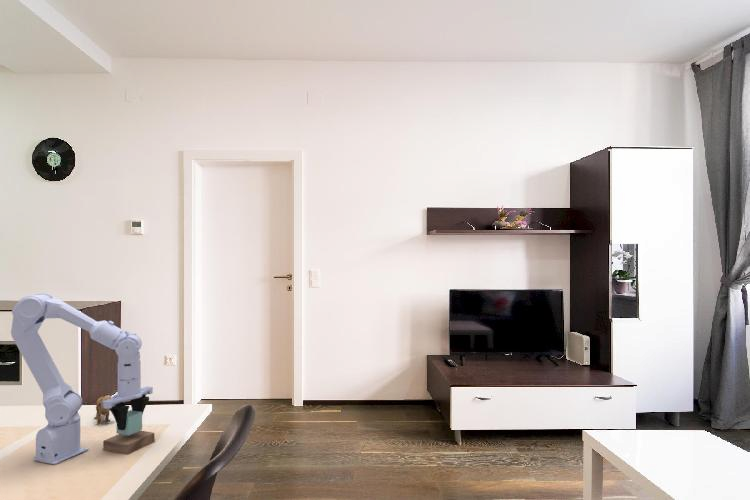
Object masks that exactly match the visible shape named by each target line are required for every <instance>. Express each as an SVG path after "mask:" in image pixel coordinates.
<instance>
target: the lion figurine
mask: <svg viewBox="0 0 750 500" xmlns="http://www.w3.org/2000/svg"><path fill="white" fill-rule="evenodd" d="M110 398H112V396H111V395H105V396H101V397H99V398H97V401H96V406H95V411H96V414H95V417H94V419H95V420H96V419H97V422H96V425H101V424H102V418H101V417H102V416H103V415H104V416H105V418H104V421H105V422H106V423H109V422H111V419H109V416H110V412H111V411H110V410H109V409H106V408H103V401H105V400H108V399H110Z"/></svg>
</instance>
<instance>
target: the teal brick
mask: <svg viewBox="0 0 750 500" xmlns="http://www.w3.org/2000/svg"><path fill="white" fill-rule="evenodd" d="M140 430H141V431H143V415H142V412H139V411H132V409H130V410H128V413H127V419H126V428H125V430H118V427H117V426H116V435H118V434H123V435H131V434H133V433H135V432H138V431H140Z"/></svg>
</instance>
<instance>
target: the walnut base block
mask: <svg viewBox="0 0 750 500" xmlns="http://www.w3.org/2000/svg"><path fill="white" fill-rule="evenodd" d="M154 442H155V432H151V431H146V430H140V431H138V432H135V433H133V434H131V435H123V434H116V435H113V436H111V437H109V438H107V439H105V440H102V446H103V447H102V450H103V451H107V452H112V453H113V452H114V453H117V454H118V453H119V454H124V455H129V454H131V453H134V452H136V451H138V450H140V449H142V448H144V447H147V446H148V445H150V444H152V443H154Z"/></svg>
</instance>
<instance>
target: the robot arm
mask: <svg viewBox="0 0 750 500" xmlns="http://www.w3.org/2000/svg"><path fill="white" fill-rule="evenodd" d="M11 314H12V323H11V330H10V335H11V338H12V339H13V341H14V343H15V345H16V346H17V348H18V350H19V353H20V354H21V355H22V357H23V359H24V361H25V363H26V364H27V366H28V368H29V370H30V372H31V374H32V377H34V379H35V381H36V383H37V386H39V389H40V390H41V392H42V405H43V407H44V409H45V410H44V411H45V413H44V417H45V419H46V421H47V425H46V426H45V427H43V428H41V429H39V430H38V431H37V433H36V436H35V457H34V458H33V461H35V462H36V461H37V462H41V463H46V464H49V465H50V464H51V465H56V464H59V463H61V462H64V461H66V460H68V459H71V458H73V457H75V456H77V455H80V454H82V453H84V452H86V451H88V450H89V447H83V446H81V415H80V414H79V410H80V409H81V408H82V405H83V398H82V396H81V395H80V394H79V393H78V392H76V391H75V390H73V388H72V386H71V385H70V384H68V383H67V382H65V380H64V378H63V377H62V375H61V373H60V371H59V369H58V368H57V365H56V363H55V362H54V359H53V358H52V356H51V354H50V353H49V350H48V348H47V347H46V345H45V342H43V340H42V339H43V338H42V337H41V336H40V334H39V330H40V328H41V326H42V324H43V322H44V321H45V320H46V319H60V320H63V321H65V322H68V323H69V324H71V325H74V326H76V327H78V328H80V329H82V330H85V331H86V332H88V333H89V336H90V339H92V340H93V341H95V342H97V343H99V344H101V345H103V346H105V347H107V348H109V349H111V350H115V353H116V355H117V360H118V362H117V394H116V395H114V396H111V398H110V399H108V400H105V401H103V408H106V409H109V410H110V411H109V412H111V414H112V416H113V418H114V420H115V423H116V428H117V427H118V430H125V428H126V419H127V413H128V411H129V408H130V407H131V410H132V411H139V412H142V416H143V414H144V412H145V408H146V406H147V404H148V402H149V401H150V397H149V396H147V395H152V394H154V393H153V387H152V386H145V387H142V386H141V385H142V383H141V379H142V378H141V371H142V369H141V365H142V364H141V352H140V350H141V348H142V345H143V344H142V343H143V342H142V338H140V336H138V335H137V333H132V332H131V333H130V331H129V330H123V329H122V328H120V327H118V326H116V325H115V323H114V321H112V320H109V321H107V320H106V319H105V320H99V321H97V320H95V319H94V318H92V317H90V316H89V315H87V314H85V313H83V312H82V311H80V310H79V309H77V308H75V307H74V306H71V305H69V304H68V303H67V302H65V301H63V300H61V299H59V298H57V297H53V296H51V294H47V293H38V294H35V295H26V296H24V297H21V298H20V299H19V300H18V301H17V302H16V304H15V306H14V307H13V308H12V310H11ZM127 402H130V405H126V404H125V403H127Z"/></svg>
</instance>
